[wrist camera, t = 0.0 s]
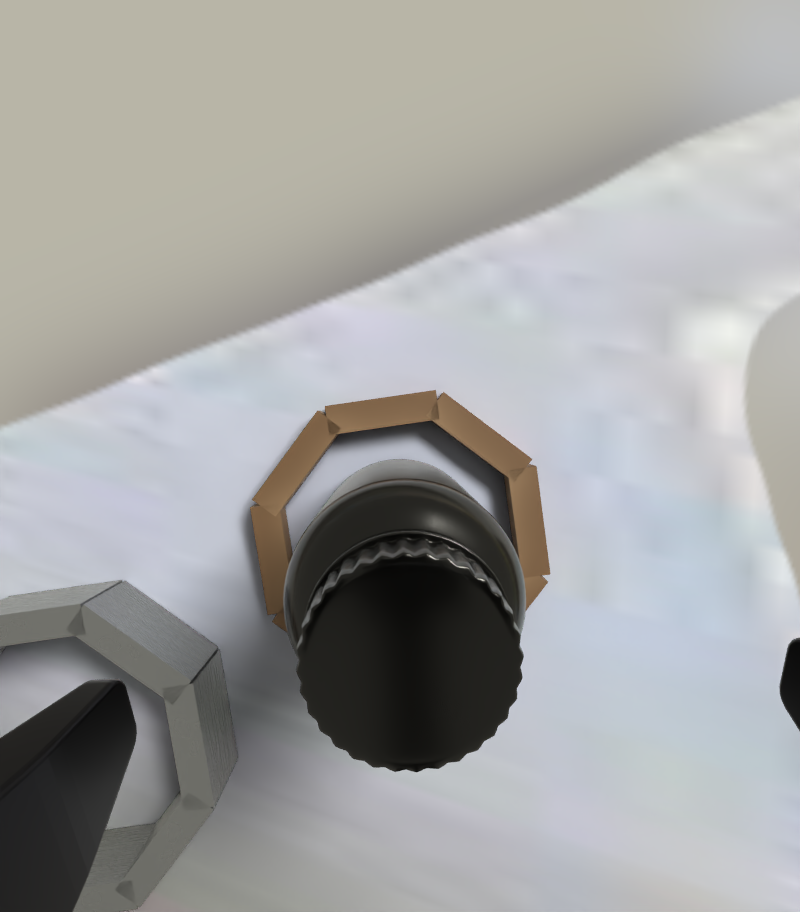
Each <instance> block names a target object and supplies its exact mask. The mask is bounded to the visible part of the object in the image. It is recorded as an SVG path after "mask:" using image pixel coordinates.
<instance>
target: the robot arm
mask: <svg viewBox="0 0 800 912" xmlns="http://www.w3.org/2000/svg"><path fill="white" fill-rule="evenodd" d="M780 696H781V699H782V702H783V704H784V706H785V708H786V710H787V712H788V713H789V715H790V716H791V718H792V720H793V721H794V723H795V724H796V726H797V727H798V729H799V731H800V638H796V639H793V640H792V641H791V642H790V644H789V645H788V648H787V653H786V658H785V662H784V667H783V672H782V677H781V681H780ZM136 734H137V730H136V723H135V719H134V715H133V711H132V708H131V704H130V700H129V697H128V693H127V689H126V686H125V684H124V683H123V682H122V681H121V680H119V679H99V680H91V681H87V682H85V683H84V684H82V685H81V686H79V687H77V688H76V689H74V690H73V691H71V692H70V693H68V694H67V695H65V696H64V697H62V698H61V699H59V700H58V701H56V702H55V703H53V704H52V705H50V706H49V707H47V708H45V709H44V710H42V711H41V712H39V713H38V714H36V715H35V716H33V717H32V718H30V719H29V720H27V721H26V722H24V723H23V724H21V725H20V726H18V727H16V728H15V729H13V730H12V731H10V732H9V733H7V734H6V735H4V736H3V737H1V738H0V912H73V910H74V908H75V906H76V904H77V901H78V899H79V897H80V894H81V892H82V890H83V887H84V885H85V883H86V880H87V878H88V876H89V873H90V871H91V868H92V865H93V863H94V860H95V857H96V855H97V852H98V849H99V846H100V843H101V841H102V838H103V835H104V832H105V829H106V826H107V823H108V821H109V818H110V815H111V812H112V809H113V806H114V803H115V801H116V798H117V795H118V792H119V789H120V786H121V783H122V780H123V778H124V775H125V772H126V769H127V766H128V763H129V760H130V758H131V755H132V752H133V749H134V746H135V742H136Z"/></svg>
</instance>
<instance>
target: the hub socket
mask: <svg viewBox="0 0 800 912" xmlns="http://www.w3.org/2000/svg"><path fill="white" fill-rule="evenodd" d="M70 636H76V637H77V638H78V639H80V640H81V641H83V642H84V643H86V644H87V645H88V646H90V647H91V648H93V649H94V650H95V651H97V652H98V653H100V654H101V655H103V656H104V657H105V658H107V659H108V660H110V661H111V662H113V663H114V664H115V665H117V666H118V667H120V668H121V669H122V670H124V671H125V672H127V673H128V674H130V675H131V676H132V677H134V678H135V679H137V680H138V681H139V682H141V683H142V684H144V685H145V686H147V687H148V688H149V689H151V690H152V691H154V692H155V693H157V694H158V695H159V696H161V697H162V698H164V702H165V708H166V713H167V719H168V724H169V730H170V736H171V741H172V747H173V753H174V758H175V764H176V769H177V775H178V781H179V786H180V792H179V794H178V795H177V796H176V798H175V799H174V800H173V802H172V803H171V804H170V806H169V807H168V808H167V810H166V811H165V812H164V814H163V815H162V816H161V818H160V819H159V820H158V822H157V823H153V824H146V825H139V826H132V827H125V828H118V829H111V830H105V832H104V835H103V838H102V841H101V843H100V846H99V849H98V852H97V855H96V857H95V860H94V863H93V865H92V868H91V871H90V873H89V876H88V878H87V880H86V883H85V885H84V887H83V890H82V892H81V894H80V897H79V899H78V901H77V904H76V906H75V908H74V910H73V912H119V911H126V910H133V909H137V908H138V907H140V906H141V905H142V904H143V902H144V901H145V900H146V899H147V897H148V896H149V895H150V893H151V892H152V891H153V889H154V888H155V887H156V885H157V884H158V883H159V881H160V880H161V879H162V877H163V876H164V875H165V873H166V872H167V871H168V869H169V868H170V867H171V866H172V864H173V863H174V862H175V860H176V859H177V858H178V856H179V855H180V854H181V852H182V851H183V850H184V848H185V847H186V846H187V844H188V843H189V842H190V840H191V839H192V838H193V836H194V835H195V834H196V832H197V831H198V830H199V829H200V827H201V826H202V825H203V823H204V822H205V821H206V819H207V818H208V817H209V815H210V814H211V813H212V811H213V810H214V808H215V806H216V804H217V802H218V800H219V798H220V795H221V793H222V791H223V789H224V787H225V785H226V783H227V781H228V779H229V777H230V774H231V772H232V770H233V768H234V766H235V764H236V762H237V758H238V754H237V748H236V742H235V736H234V730H233V724H232V719H231V713H230V707H229V701H228V695H227V689H226V683H225V677H224V672H223V666H222V660H221V654H220V650H216V649H217V648H218V647H217V646H216V645H215V644H213V643H212V642H210V641H209V640H208V639H206V638H205V637H203V636H202V635H201V634H199V633H198V632H196V631H195V630H194V629H192V628H191V627H189V626H188V625H187V624H185V623H184V622H182V621H181V620H180V619H178V618H177V617H175V616H174V615H173V614H171V613H170V612H168V611H167V610H166V609H164V608H163V607H161V606H160V605H159V604H157V603H156V602H154V601H153V600H152V599H150V598H149V597H147V596H146V595H144V594H143V593H142V592H140V591H139V590H137V589H136V588H135V587H133V586H132V585H130V584H129V583H128V582H126V581H124V582H123V581H122V580H118V581H111V582H105V583H98V584H91V585H84V586H77V587H70V588H63V589H56V590H49V591H42V592H35V593H28V594H21V595H14V596H9V597H7V598H4V599H2V600H0V654H1V653H2V652H3V650H4V649H5V647H6V646H8V645H15V644H22V643H29V642H36V641H43V640H50V639H57V638H64V637H70Z"/></svg>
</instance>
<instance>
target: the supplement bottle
mask: <svg viewBox="0 0 800 912" xmlns="http://www.w3.org/2000/svg"><path fill="white" fill-rule="evenodd" d="M283 607H284V617H285V624H286V628H287V633H288V636H289V639H290V642H291V645H292V647H293V649H294V651H295V654H296V656H297V657H298V659H299V661H298V664H297V668H296V672H297V674H298V677H299V678H300V680H301V686H300V693H301V695H302V696H303V698H304V699H305V700H306V701H307V707H308V713H309V714H310V715H311V716H312V717H313V718H314V719H316V720H317V722H318V726H319V729H320V731H321V732H323V733H324V734H326V735H328V736H329V737H330V738H331V739H332V742H333V743H334V745H335V746H336V747H338V748H340V749H343V750H346V751H347V752H348V753H349V755H350V756H351V757H352V758H353V759H356V760H362V761H365V762H367V763H368V764H369V765H371V766H372V767H386V768H388V769H390V770H392V771H394V772H396V771H401V770H405V769H407V770H410V771H414V772H419V771H421V770H423V769H426V768H433V769H439V768H440V767H442V766H444V765H445V764H446V763H448V762H457V761H460V760H461V759H462V758H463V757H464V756H465V755H466V754H467V753H471V752H474V751H477V750H478V749H479V748H480V747H481V745H482V744H483V742H484V741H485V740H487V739H489V738H491V737H493V736H494V735H495V733H496V731H497V727H498V726H499V725H500V724H501V723H502V722H504V721H505V720H506V719H507V718H508V714H509V708H510V707H511V705H512V704H513V703H514V702H515V701H516V699H517V687H518V685H519V684H520V682H521V680H522V672H521V669H520V666H521V664H522V661H523V657H524V655H523V652H522V649H521V647H520V636H521V632H522V629H523V624H524V619H525V610H526V590H525V581H524V576H523V571H522V567H521V564H520V561H519V558H518V556H517V553H516V551H515V549H514V547H513V545H512V543H511V541H510V539H509V538H508V536H507V535H506V533H505V532H504V530H503V529H502V527H501V526H500V525H499V523H498V522H497V521H496V520H495V519H494V517H493V516H492V515H491V514H490V513H489V512H488V511H487V510H485V509H484V508H483V507H482V506H481V505H480V504H479V503H478V502H477V501H476V500H475V499H474V498H473V497H472V496H471V495H470V494H469V493H468V492H466V491H465V490H464V489H463V488H462V487H461V486H460V485H459V484H458V483H457V482H456V481H455V480H454V479H452V478H451V477H450V476H449V475H447V474H446V473H444V472H443V471H441V470H440V469H438V468H436V467H434V466H431V465H429V464H426V463H423V462H419V461H414V460H407V459H393V460H385V461H381V462H377V463H374V464H371V465H369V466H366V467H364V468H362V469H360V470H359V471H357V472H355V473H354V474H353V475H351V476H350V477H349V478H347V479H346V480H345V481H344V482H343V483H342V484H341V485H340V486H339V487H338V488H337V489H336V491H335V492H334V493H333V494H332V496H331V497H330V498H329V500H328V501H327V502H326V504H325V505H324V506H323V508H322V509H321V510H320V512H319V513H318V514H317V516H316V517H315V518H314V520H313V521H312V522H311V524H310V525H309V526H308V528H307V529H306V531H305V532H304V534H303V535H302V537H301V539H300V541H299V542H298V544H297V546H296V548H295V550H294V553H293V555H292V558H291V560H290V563H289V566H288V570H287V573H286V578H285V584H284V595H283Z"/></svg>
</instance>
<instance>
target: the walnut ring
mask: <svg viewBox="0 0 800 912" xmlns="http://www.w3.org/2000/svg"><path fill="white" fill-rule="evenodd" d="M325 411H326V414H324V413H323V412H322V411H317V412H316V413H315V415H314V416H313V418H312V419H311V420H310V422H309V423H308V424H307V426H306V427H305V428H304V430H303V431H302V432H301V434H300V435H299V437H298V438H297V439H296V441H295V442H294V443H293V445H292V446H291V447H290V449H289V450H288V452H287V453H286V454H285V456H284V457H283V458H282V460H281V461H280V462H279V464H278V465H277V466H276V468H275V469H274V471H273V472H272V473H271V475H270V476H269V477H268V479H267V480H266V481H265V483H264V484H263V485H262V487H261V488H260V490H259V491H258V492H257V494H256V495H255V496H254V498H253V499H252V500H253V501H255V502H256V503H257V504H256V505H254V506H252V507H250V510H251V516H252V522H253V528H254V534H255V541H256V547H257V553H258V559H259V565H260V571H261V577H262V583H263V589H264V596H265V602H266V608H267V614H268V615H271V614H277V615H276V616H275V618H274V619H273V621H272V622H273V623H274V624H276V625H277V626H279V627H280V628H281V629H283V630H284V631H285V632H287V628H286V624H285V617H284V607H283V595H284V584H285V578H286V573H287V570H288V566H289V563H290V560H291V558H292V555H293V554H292V547H291V541H290V535H289V528H288V522H287V516H286V510H285V507H286V505H287V504H288V502H289V501H290V500H291V498H292V497H293V496H294V494H295V493H296V492H297V490H298V489H299V488H300V486H301V485H302V484H303V482H304V481H305V479H306V478H307V477H308V475H309V474H310V473H311V471H312V470H313V469H314V467H315V466H316V465H317V463H318V462H319V461H320V459H321V458H322V457H323V455H324V454H325V452H326V451H327V450H328V448H329V447H330V446H331V444H332V443H333V442H334V440H335V439H336V438H337V436H338V435H339V434H341V433H348V432H354V431H361V430H368V429H375V428H382V427H389V426H396V425H403V424H410V423H417V422H423V421H430V420H431V421H432V422H433V423H435V424H436V425H437V426H439V427H440V428H441V429H443V430H444V431H445V432H447V433H448V434H449V435H451V436H452V437H453V438H455V439H456V440H457V441H459V442H460V443H461V444H463V445H464V446H465V447H467V448H468V449H469V450H471V451H472V452H473V453H475V454H476V455H477V456H479V457H480V458H481V459H483V460H484V461H485V462H486V463H488V464H489V465H490V466H492V467H493V468H494V469H496V470H497V471H498V472H500V473H501V474H502V475H504V481H505V489H506V496H507V504H508V511H509V519H510V526H511V534H512V541H513V547H514V549H515V551H516V553H517V556H518V558H519V561H520V564H521V567H522V571H523V576H524V581H525V590H526V610H527V609H528V607H529V606H530V605H531V603H532V602H533V601H534V600H535V598H536V597H537V596H538V594H539V593H540V592H541V591H542V589H543V588H544V587H545V585H546V584H547V583H548V581H547V580H546V579H545V578H544V577H543V576H542V575H549V574H550V568H549V560H548V552H547V545H546V537H545V529H544V521H543V513H542V506H541V498H540V490H539V482H538V475H537V467H536V466H534V465H531V464H529V463H530V461H531V460H532V459H531V458H530V457H529V456H527V455H526V454H525V453H523V452H522V451H521V450H519V449H518V448H517V447H516V446H514V445H513V444H512V443H510V442H509V441H508V440H506V439H505V438H504V437H502V436H501V435H500V434H498V433H497V432H496V431H494V430H493V429H492V428H490V427H489V426H488V425H486V424H485V423H484V422H482V421H481V420H480V419H478V418H477V417H476V416H474V415H473V414H472V413H470V412H469V411H468V410H467V409H465V408H464V407H463V406H461V405H460V404H459V403H457V402H456V401H455V400H453V399H452V398H451V397H449V396H448V395H447V394H445V393H444V392H443V393H442V394H441V395H440V397H439V398H438V399H437V396H436V390H433V391H426V392H419V393H413V394H406V395H399V396H392V397H385V398H378V399H371V400H364V401H357V402H350V403H344V404H337V405H330V406H325ZM528 464H529V465H528ZM526 610H525V611H526Z"/></svg>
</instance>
